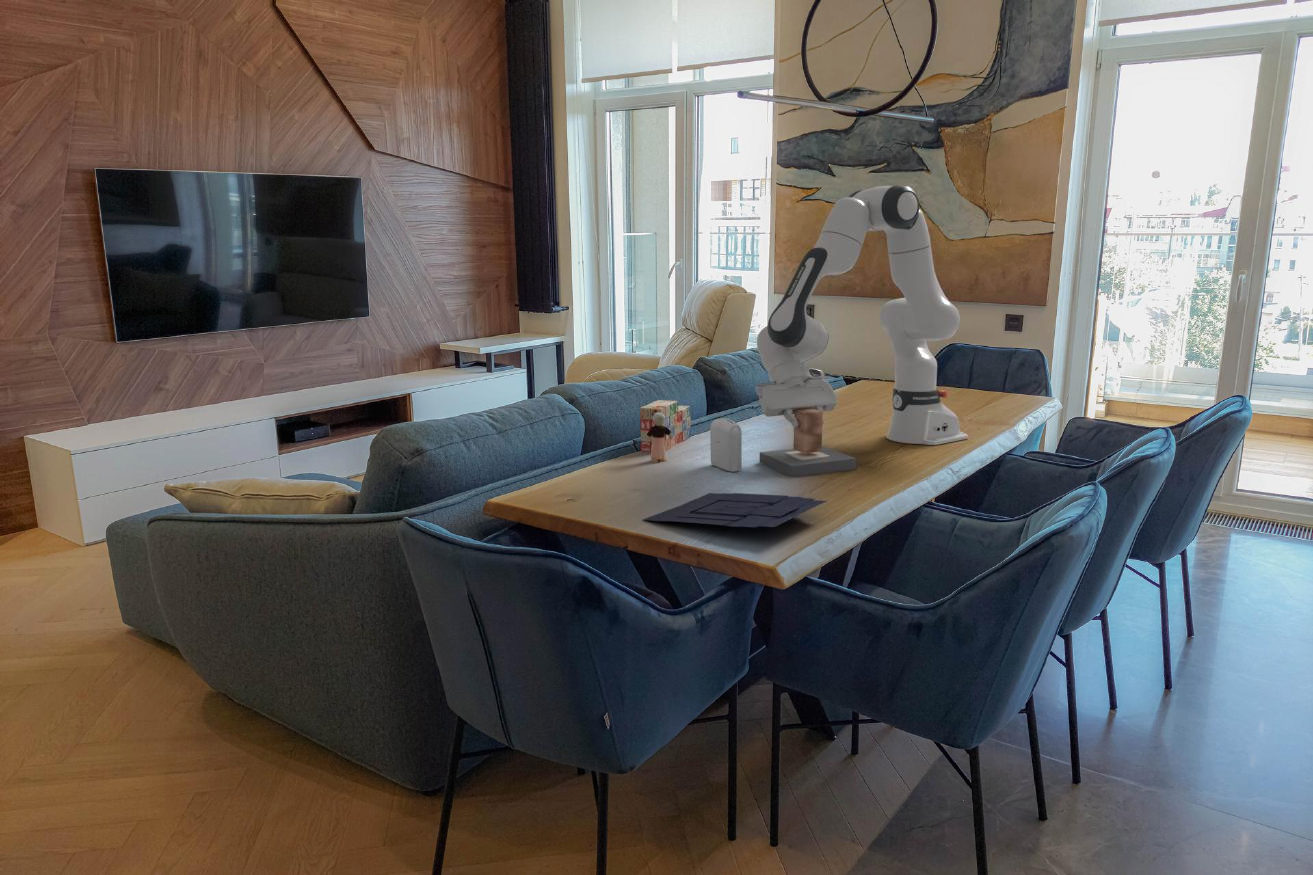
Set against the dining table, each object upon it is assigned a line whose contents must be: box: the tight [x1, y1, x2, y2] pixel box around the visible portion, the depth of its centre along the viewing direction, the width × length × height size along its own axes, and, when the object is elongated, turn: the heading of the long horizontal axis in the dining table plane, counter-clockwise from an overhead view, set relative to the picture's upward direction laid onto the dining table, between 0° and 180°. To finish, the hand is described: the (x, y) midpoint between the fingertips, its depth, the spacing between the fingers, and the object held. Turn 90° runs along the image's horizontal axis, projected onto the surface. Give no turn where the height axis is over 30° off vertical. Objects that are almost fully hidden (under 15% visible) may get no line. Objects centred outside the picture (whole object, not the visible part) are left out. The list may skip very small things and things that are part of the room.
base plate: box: [759, 445, 857, 478], centre depth 221 cm, size 18×16×3 cm
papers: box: [642, 492, 828, 528], centre depth 179 cm, size 24×30×4 cm
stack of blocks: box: [639, 399, 692, 453], centre depth 247 cm, size 21×6×12 cm, turn 156°
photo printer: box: [709, 417, 743, 473], centre depth 219 cm, size 10×4×12 cm, turn 26°
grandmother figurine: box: [644, 412, 673, 463], centre depth 227 cm, size 8×4×13 cm, turn 123°
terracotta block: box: [792, 408, 824, 453], centre depth 219 cm, size 5×5×10 cm
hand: (809, 425), depth 218 cm, fingers closed on terracotta block, 5 cm apart
